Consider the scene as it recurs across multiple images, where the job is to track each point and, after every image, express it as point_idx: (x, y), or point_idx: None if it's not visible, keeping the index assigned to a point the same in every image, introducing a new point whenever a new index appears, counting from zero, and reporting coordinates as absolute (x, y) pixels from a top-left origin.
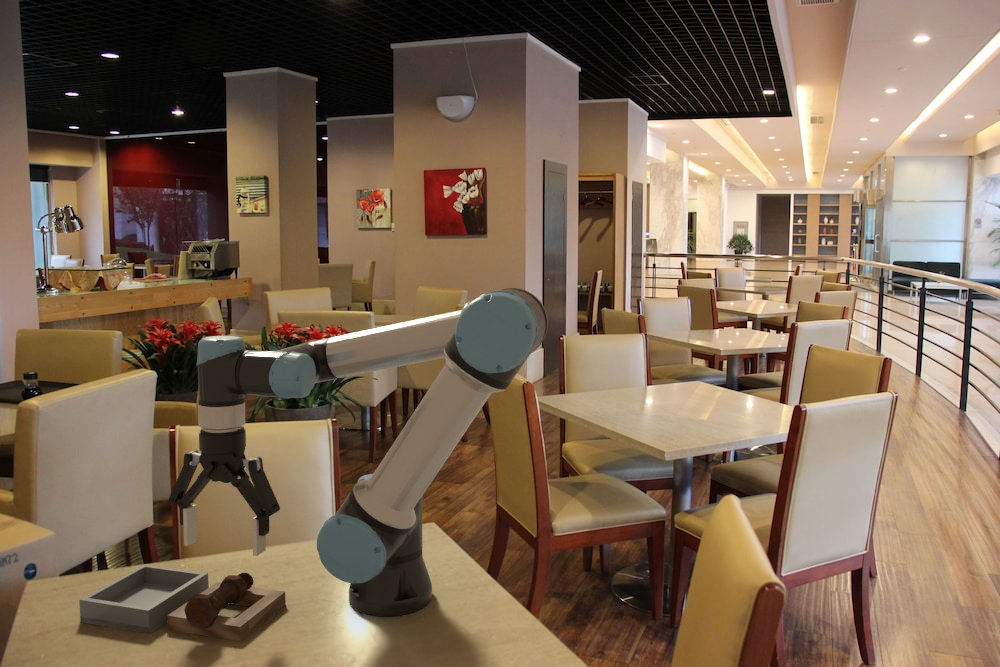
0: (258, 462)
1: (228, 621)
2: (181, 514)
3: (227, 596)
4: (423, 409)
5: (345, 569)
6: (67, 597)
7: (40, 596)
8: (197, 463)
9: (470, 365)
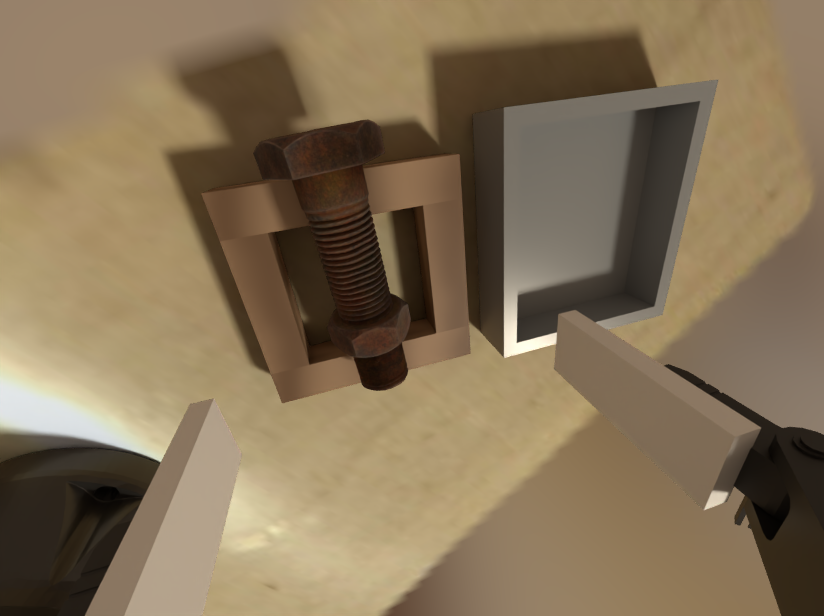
0: None
1: (267, 205)
2: (726, 404)
3: (326, 268)
4: None
5: None
6: (736, 177)
7: (786, 155)
8: None
9: None
